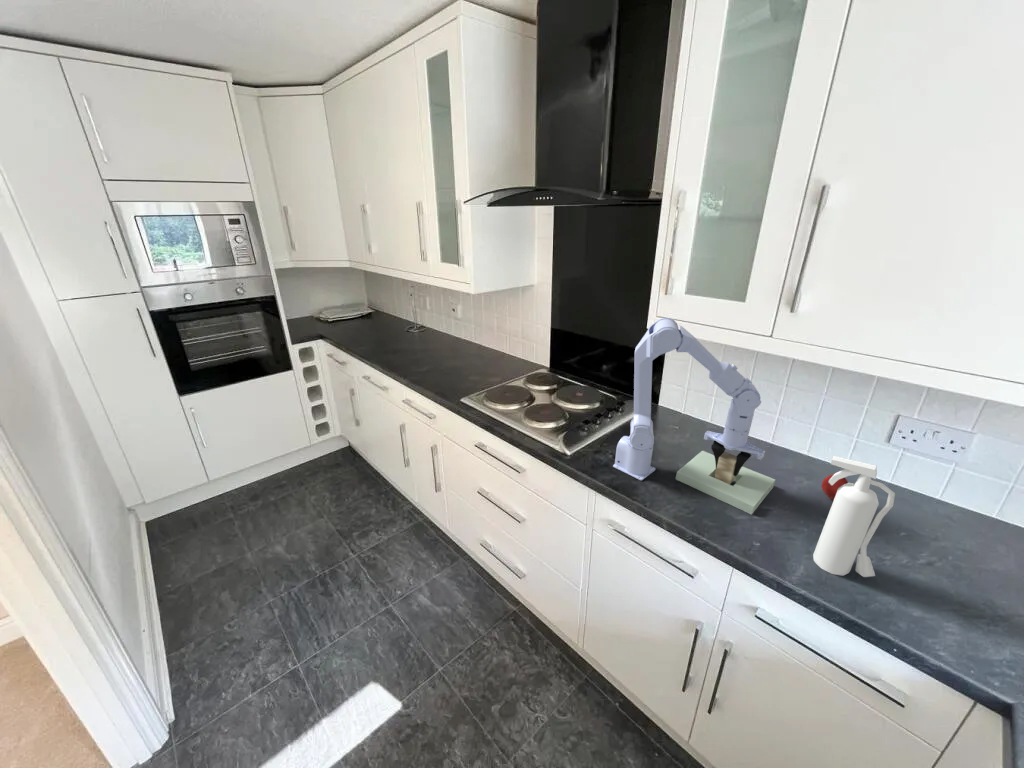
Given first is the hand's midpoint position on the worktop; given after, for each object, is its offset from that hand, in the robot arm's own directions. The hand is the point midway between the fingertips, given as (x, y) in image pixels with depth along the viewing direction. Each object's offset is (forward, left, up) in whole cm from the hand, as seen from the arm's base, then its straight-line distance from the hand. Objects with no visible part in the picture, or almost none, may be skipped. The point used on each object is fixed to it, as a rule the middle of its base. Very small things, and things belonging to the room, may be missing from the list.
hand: (726, 470), depth 115 cm
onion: (+22, +14, -4) cm, 26 cm away
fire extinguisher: (+28, -12, -4) cm, 31 cm away
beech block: (0, 0, -2) cm, 3 cm away
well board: (0, 0, -4) cm, 4 cm away
